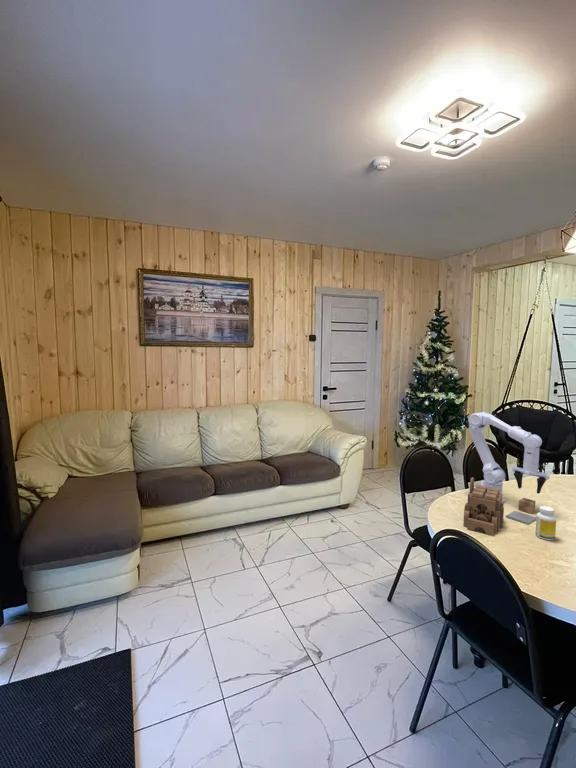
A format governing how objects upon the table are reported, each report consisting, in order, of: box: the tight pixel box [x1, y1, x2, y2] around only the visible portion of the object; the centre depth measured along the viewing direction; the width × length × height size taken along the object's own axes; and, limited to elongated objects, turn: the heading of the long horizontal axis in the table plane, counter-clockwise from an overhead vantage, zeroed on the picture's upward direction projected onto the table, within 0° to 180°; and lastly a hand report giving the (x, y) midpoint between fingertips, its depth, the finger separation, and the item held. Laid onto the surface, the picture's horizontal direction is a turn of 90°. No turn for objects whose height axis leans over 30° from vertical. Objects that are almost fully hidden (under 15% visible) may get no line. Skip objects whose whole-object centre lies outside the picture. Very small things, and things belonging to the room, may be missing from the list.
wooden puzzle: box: [463, 476, 505, 536], centre depth 161 cm, size 22×15×19 cm, turn 145°
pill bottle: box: [535, 505, 557, 541], centre depth 149 cm, size 6×6×12 cm
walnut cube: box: [518, 497, 536, 515], centre depth 174 cm, size 5×5×5 cm
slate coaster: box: [505, 510, 536, 525], centre depth 166 cm, size 9×9×1 cm
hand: (529, 490), depth 173 cm, fingers open, 7 cm apart
